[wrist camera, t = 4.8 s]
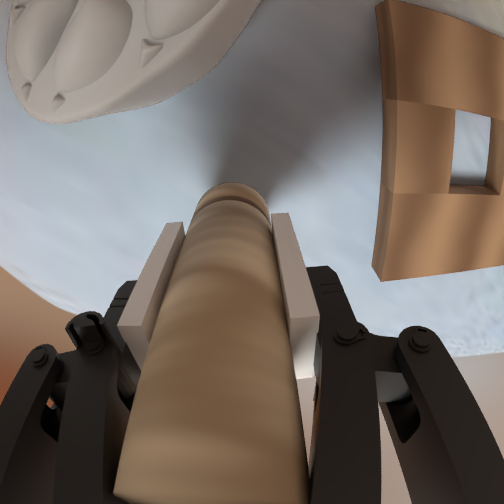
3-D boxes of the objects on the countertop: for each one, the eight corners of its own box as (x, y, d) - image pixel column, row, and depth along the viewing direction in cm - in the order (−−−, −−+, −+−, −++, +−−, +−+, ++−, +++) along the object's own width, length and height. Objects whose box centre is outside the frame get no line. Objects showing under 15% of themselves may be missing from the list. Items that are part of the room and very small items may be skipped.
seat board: (371, 266, 21) (380, 281, 19) (375, 6, 12) (388, -2, 10) (499, 252, 20) (511, 263, 18) (519, 56, 11) (536, 57, 10)
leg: (201, 252, 17) (154, 516, 5) (190, 186, 15) (74, 473, 3) (270, 246, 17) (305, 519, 5) (266, 179, 15) (325, 490, 3)
